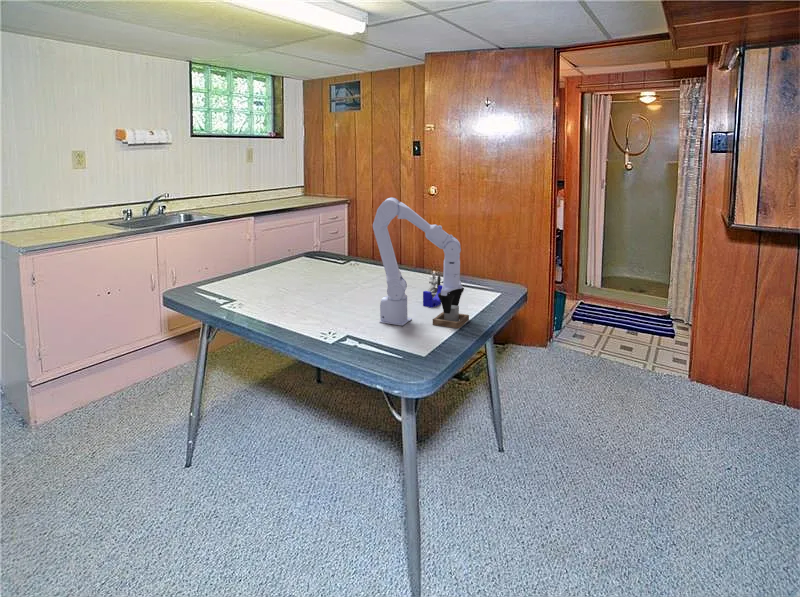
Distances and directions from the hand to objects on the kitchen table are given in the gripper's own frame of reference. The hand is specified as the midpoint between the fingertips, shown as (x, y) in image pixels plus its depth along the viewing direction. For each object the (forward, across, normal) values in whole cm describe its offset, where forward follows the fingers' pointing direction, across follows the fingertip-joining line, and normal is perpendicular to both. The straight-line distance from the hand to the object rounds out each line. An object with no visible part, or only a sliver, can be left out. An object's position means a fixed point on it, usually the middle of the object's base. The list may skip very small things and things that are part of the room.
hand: (450, 310), depth 191 cm
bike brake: (+5, +33, +17) cm, 37 cm away
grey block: (+5, 0, 0) cm, 5 cm away
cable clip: (+5, +20, +14) cm, 25 cm away
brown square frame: (+5, 0, 0) cm, 5 cm away
